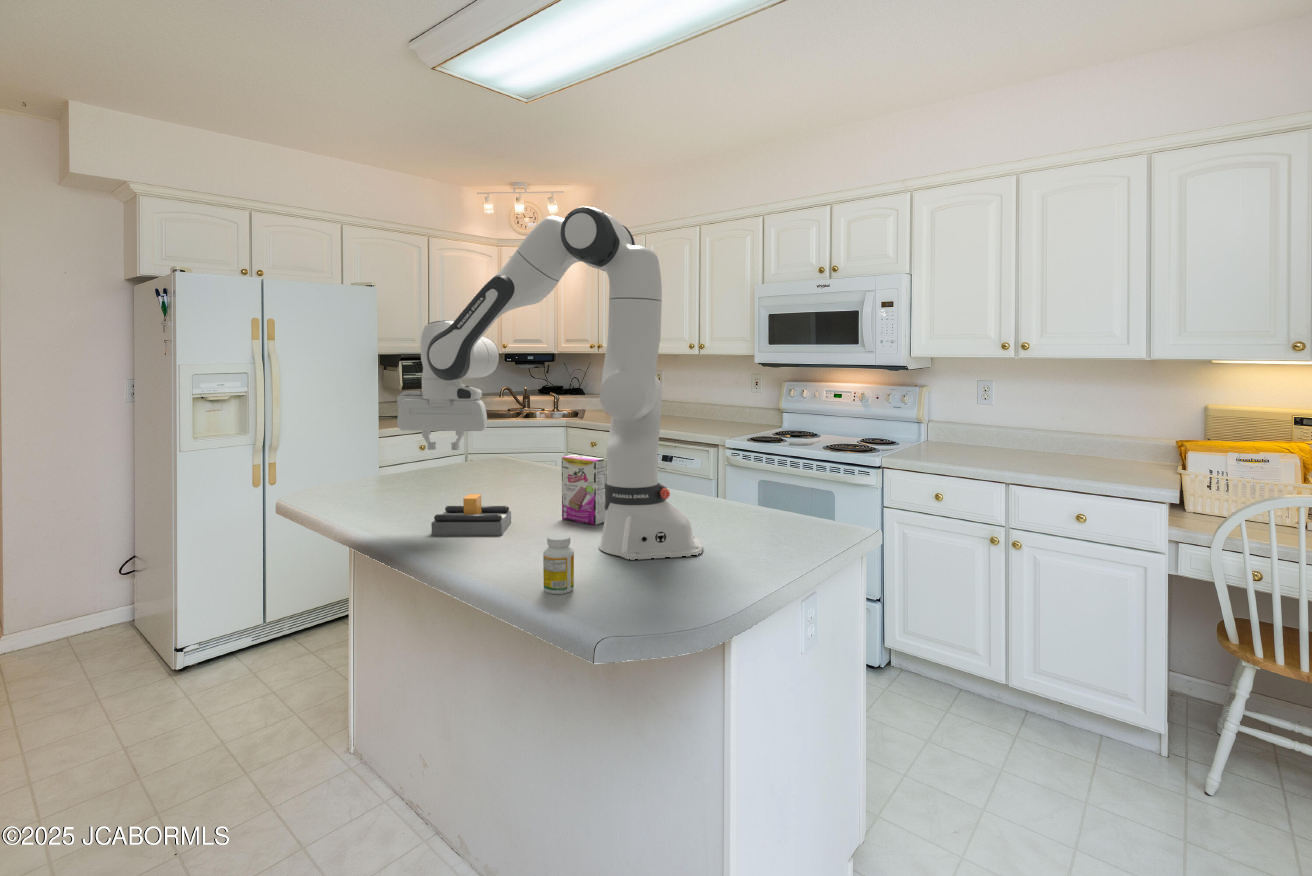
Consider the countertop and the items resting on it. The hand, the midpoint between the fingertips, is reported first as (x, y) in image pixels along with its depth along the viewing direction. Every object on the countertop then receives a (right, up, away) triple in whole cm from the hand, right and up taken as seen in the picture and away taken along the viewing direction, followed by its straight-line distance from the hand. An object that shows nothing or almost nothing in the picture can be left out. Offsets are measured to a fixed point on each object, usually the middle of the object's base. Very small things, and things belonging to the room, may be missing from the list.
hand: (443, 449), depth 151 cm
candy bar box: (+32, -19, +12) cm, 39 cm away
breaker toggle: (+6, -16, +2) cm, 17 cm away
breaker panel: (+6, -19, +2) cm, 20 cm away
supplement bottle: (+33, -24, -38) cm, 56 cm away
